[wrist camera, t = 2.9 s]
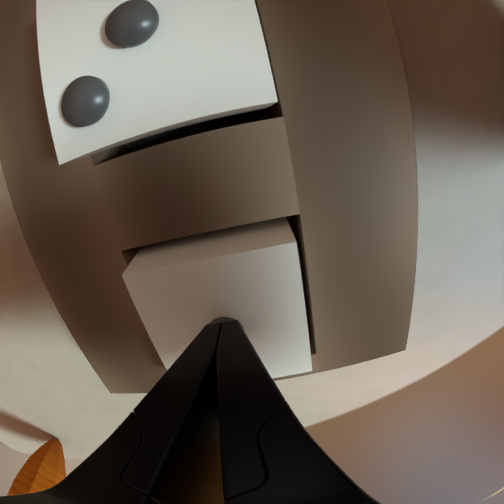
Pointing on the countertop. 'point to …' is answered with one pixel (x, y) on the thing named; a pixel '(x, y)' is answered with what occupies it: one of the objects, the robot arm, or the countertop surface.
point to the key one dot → (225, 292)
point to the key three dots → (146, 68)
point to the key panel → (234, 188)
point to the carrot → (40, 470)
